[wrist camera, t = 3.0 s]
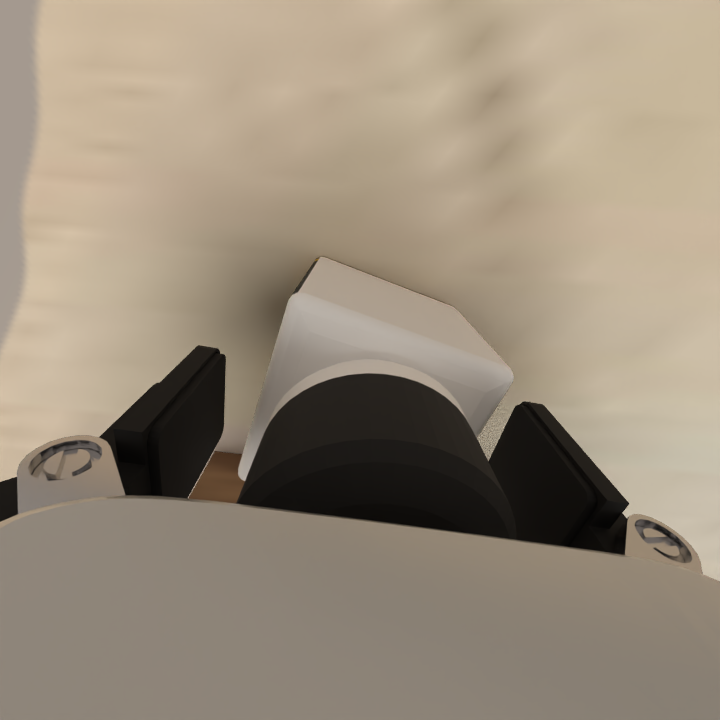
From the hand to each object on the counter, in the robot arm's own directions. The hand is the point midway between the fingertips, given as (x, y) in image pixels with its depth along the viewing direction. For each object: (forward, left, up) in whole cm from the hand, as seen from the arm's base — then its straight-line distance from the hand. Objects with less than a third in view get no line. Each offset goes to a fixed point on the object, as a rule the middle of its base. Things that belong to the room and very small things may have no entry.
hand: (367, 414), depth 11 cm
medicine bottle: (-1, 0, -7) cm, 7 cm away
